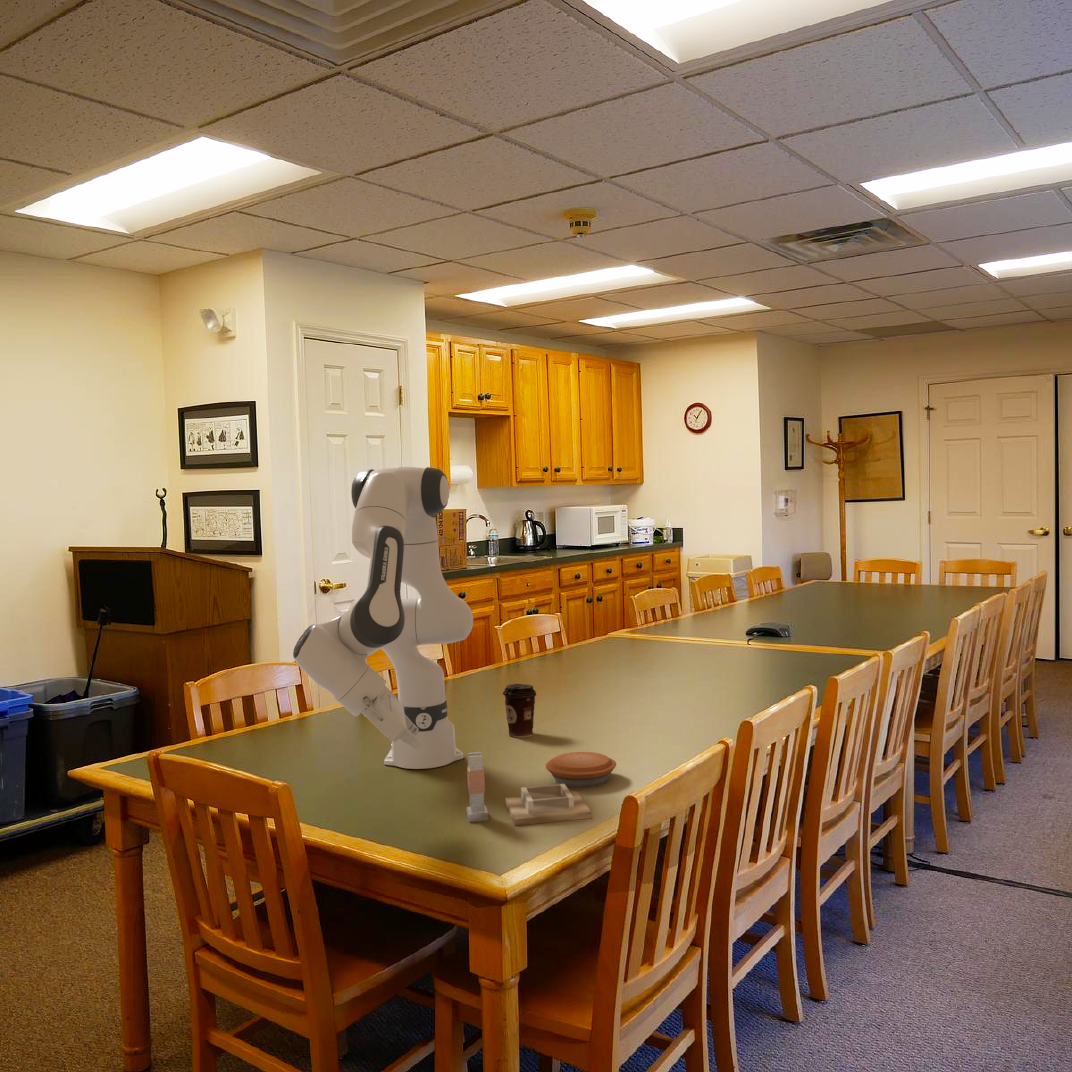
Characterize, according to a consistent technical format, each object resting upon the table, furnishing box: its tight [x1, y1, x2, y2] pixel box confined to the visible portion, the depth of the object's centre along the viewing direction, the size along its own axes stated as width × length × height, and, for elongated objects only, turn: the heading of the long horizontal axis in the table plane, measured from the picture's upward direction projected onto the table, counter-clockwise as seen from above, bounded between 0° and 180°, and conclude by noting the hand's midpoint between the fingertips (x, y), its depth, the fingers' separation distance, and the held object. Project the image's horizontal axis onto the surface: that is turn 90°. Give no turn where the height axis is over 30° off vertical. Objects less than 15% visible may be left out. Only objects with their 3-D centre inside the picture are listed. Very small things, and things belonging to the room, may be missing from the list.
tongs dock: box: [504, 783, 592, 826], centre depth 189 cm, size 13×15×4 cm
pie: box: [545, 751, 617, 788], centre depth 209 cm, size 15×16×5 cm
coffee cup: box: [502, 683, 537, 739], centre depth 248 cm, size 9×8×13 cm
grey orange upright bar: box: [465, 751, 489, 823], centre depth 186 cm, size 4×4×12 cm
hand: (417, 739), depth 184 cm, fingers open, 8 cm apart
